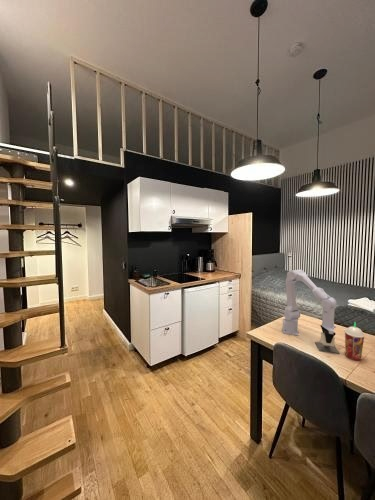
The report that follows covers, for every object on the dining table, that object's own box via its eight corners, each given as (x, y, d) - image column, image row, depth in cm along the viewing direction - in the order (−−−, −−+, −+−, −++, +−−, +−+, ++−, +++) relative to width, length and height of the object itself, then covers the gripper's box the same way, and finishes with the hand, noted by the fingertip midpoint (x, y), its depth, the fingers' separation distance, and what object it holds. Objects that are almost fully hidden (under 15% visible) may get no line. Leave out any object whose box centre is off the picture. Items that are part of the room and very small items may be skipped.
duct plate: (319, 351, 122) (319, 344, 121) (315, 342, 131) (315, 336, 131) (339, 354, 118) (339, 347, 118) (333, 345, 128) (334, 338, 127)
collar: (322, 344, 123) (323, 336, 122) (320, 340, 128) (321, 332, 128) (334, 346, 121) (334, 338, 121) (331, 341, 126) (331, 333, 126)
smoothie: (364, 363, 110) (366, 326, 108) (344, 358, 114) (346, 323, 113) (361, 356, 117) (363, 321, 115) (342, 351, 121) (344, 318, 120)
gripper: (340, 324, 115) (339, 347, 116) (332, 314, 129) (331, 336, 130) (325, 322, 118) (324, 345, 119) (319, 313, 131) (318, 334, 132)
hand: (327, 340), depth 124 cm, fingers closed on collar, 6 cm apart
